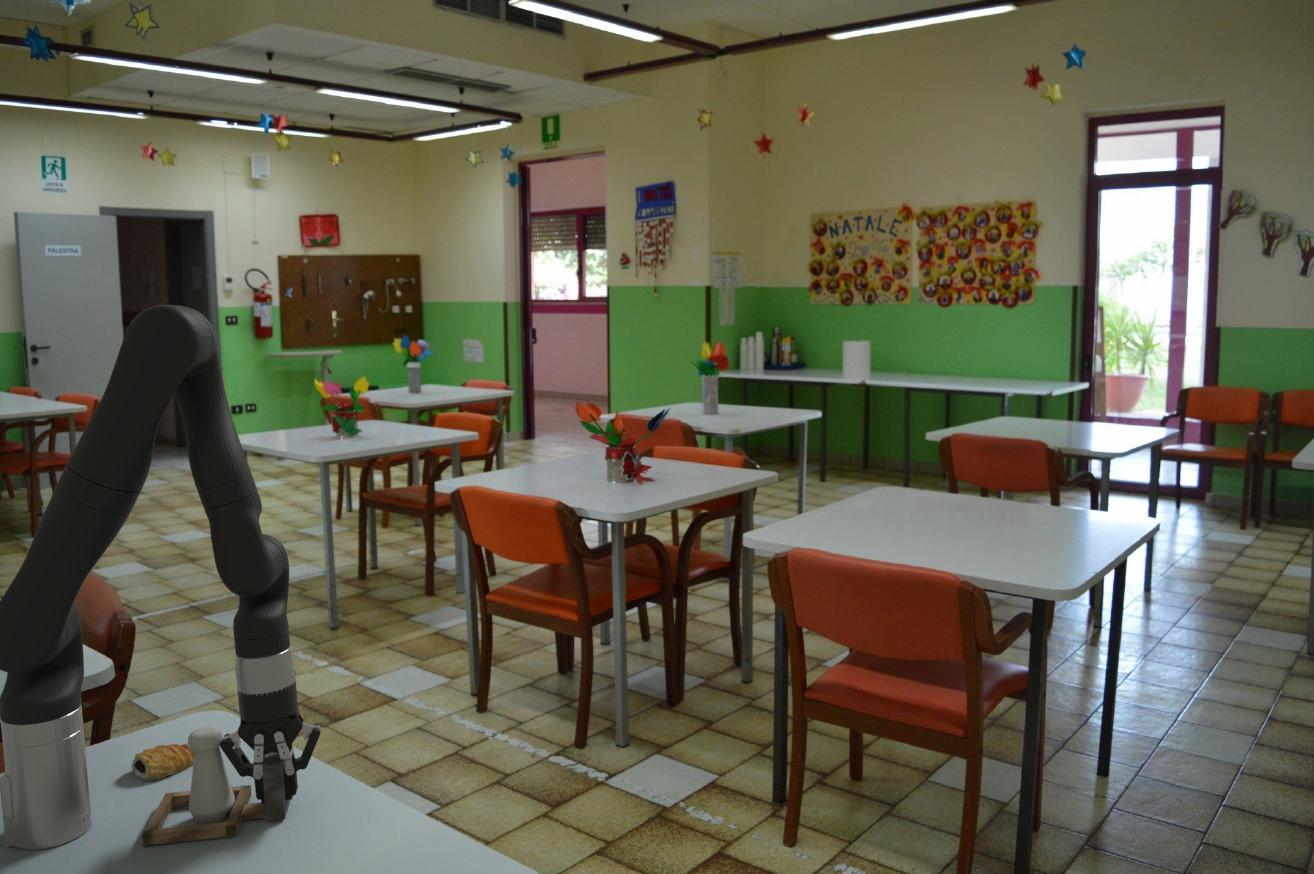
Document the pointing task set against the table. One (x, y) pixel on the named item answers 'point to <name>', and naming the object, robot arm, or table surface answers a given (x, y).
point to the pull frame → (241, 810)
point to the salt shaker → (209, 778)
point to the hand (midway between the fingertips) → (278, 798)
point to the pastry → (162, 761)
